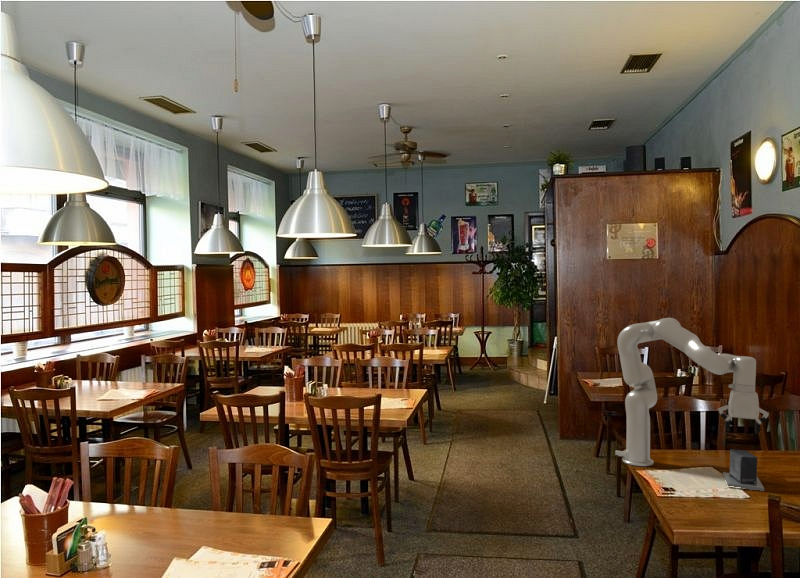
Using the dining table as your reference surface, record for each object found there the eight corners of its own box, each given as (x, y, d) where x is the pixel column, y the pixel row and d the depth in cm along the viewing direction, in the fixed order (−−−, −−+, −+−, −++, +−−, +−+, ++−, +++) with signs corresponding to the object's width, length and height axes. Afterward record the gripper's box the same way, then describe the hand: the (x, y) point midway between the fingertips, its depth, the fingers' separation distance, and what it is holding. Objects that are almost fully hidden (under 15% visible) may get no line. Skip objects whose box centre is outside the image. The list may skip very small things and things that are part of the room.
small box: (758, 484, 232) (758, 457, 232) (739, 483, 233) (740, 456, 233) (746, 475, 242) (746, 449, 242) (728, 474, 243) (729, 448, 243)
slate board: (727, 487, 233) (728, 483, 233) (722, 475, 247) (722, 472, 247) (764, 491, 228) (764, 487, 228) (756, 479, 242) (756, 475, 242)
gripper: (720, 388, 236) (718, 431, 237) (771, 392, 230) (769, 437, 231) (717, 384, 243) (716, 427, 244) (767, 388, 237) (766, 432, 238)
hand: (742, 432), depth 237 cm, fingers open, 9 cm apart
